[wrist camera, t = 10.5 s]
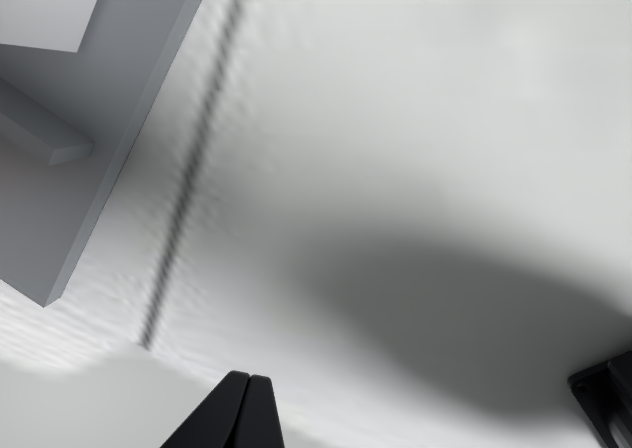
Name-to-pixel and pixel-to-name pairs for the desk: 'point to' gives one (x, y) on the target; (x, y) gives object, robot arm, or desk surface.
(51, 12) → the grey block
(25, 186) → the block sorting stand
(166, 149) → the desk surface
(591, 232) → the desk surface
